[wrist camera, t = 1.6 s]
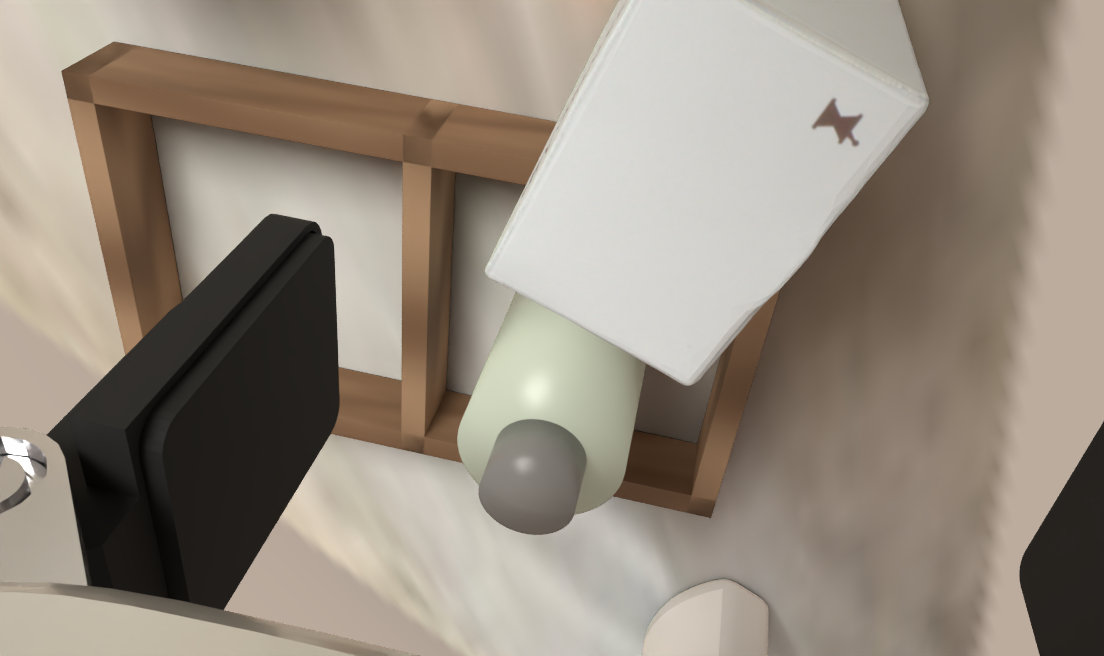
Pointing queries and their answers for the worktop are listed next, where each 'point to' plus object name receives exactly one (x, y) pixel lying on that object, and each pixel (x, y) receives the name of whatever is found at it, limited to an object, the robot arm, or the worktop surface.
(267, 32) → the worktop surface
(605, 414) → the sage bottle
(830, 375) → the worktop surface
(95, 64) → the wooden frame
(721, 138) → the skincare box
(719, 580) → the eye dropper bottle
